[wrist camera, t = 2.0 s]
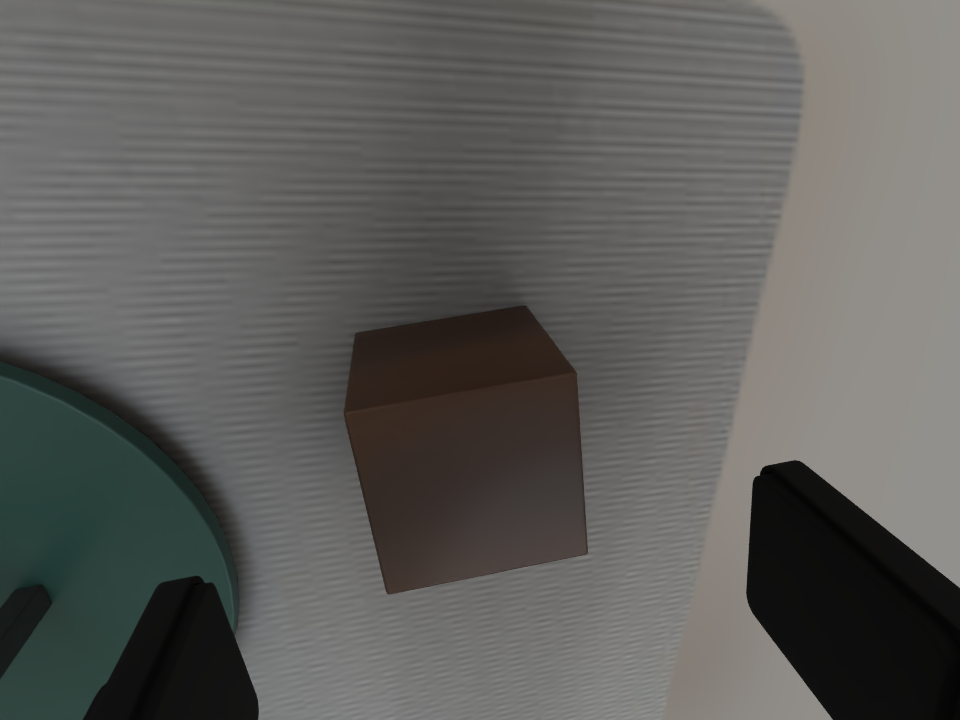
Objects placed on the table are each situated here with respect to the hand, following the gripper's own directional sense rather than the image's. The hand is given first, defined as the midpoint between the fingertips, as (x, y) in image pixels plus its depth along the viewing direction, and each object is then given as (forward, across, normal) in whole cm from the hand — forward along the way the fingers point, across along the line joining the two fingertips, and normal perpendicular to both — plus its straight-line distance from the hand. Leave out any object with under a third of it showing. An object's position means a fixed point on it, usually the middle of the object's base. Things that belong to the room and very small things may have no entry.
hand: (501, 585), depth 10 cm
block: (+7, 0, -1) cm, 7 cm away
